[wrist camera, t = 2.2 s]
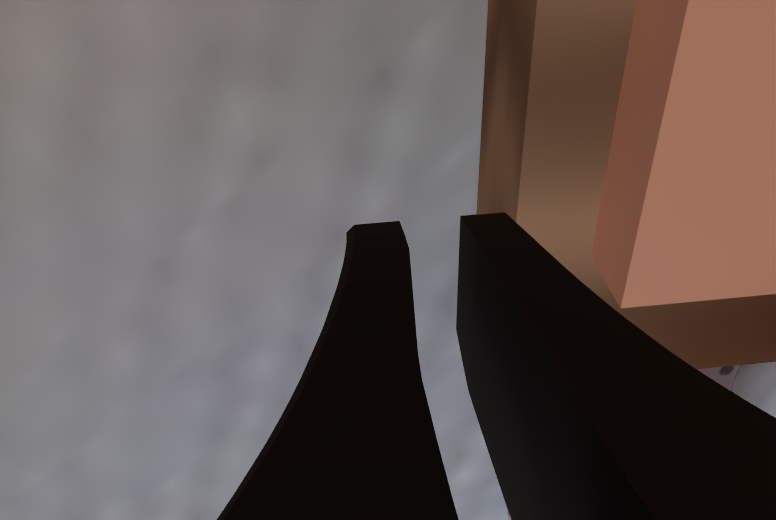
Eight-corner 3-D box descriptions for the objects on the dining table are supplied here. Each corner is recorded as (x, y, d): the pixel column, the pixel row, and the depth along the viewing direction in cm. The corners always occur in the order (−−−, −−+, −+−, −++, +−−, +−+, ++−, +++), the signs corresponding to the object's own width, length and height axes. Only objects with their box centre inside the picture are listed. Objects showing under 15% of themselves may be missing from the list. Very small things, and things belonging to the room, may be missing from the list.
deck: (818, 267, 24) (898, 348, 21) (472, 299, 23) (500, 388, 20) (1137, -488, 13) (1401, -557, 10) (514, -476, 13) (589, -548, 9)
